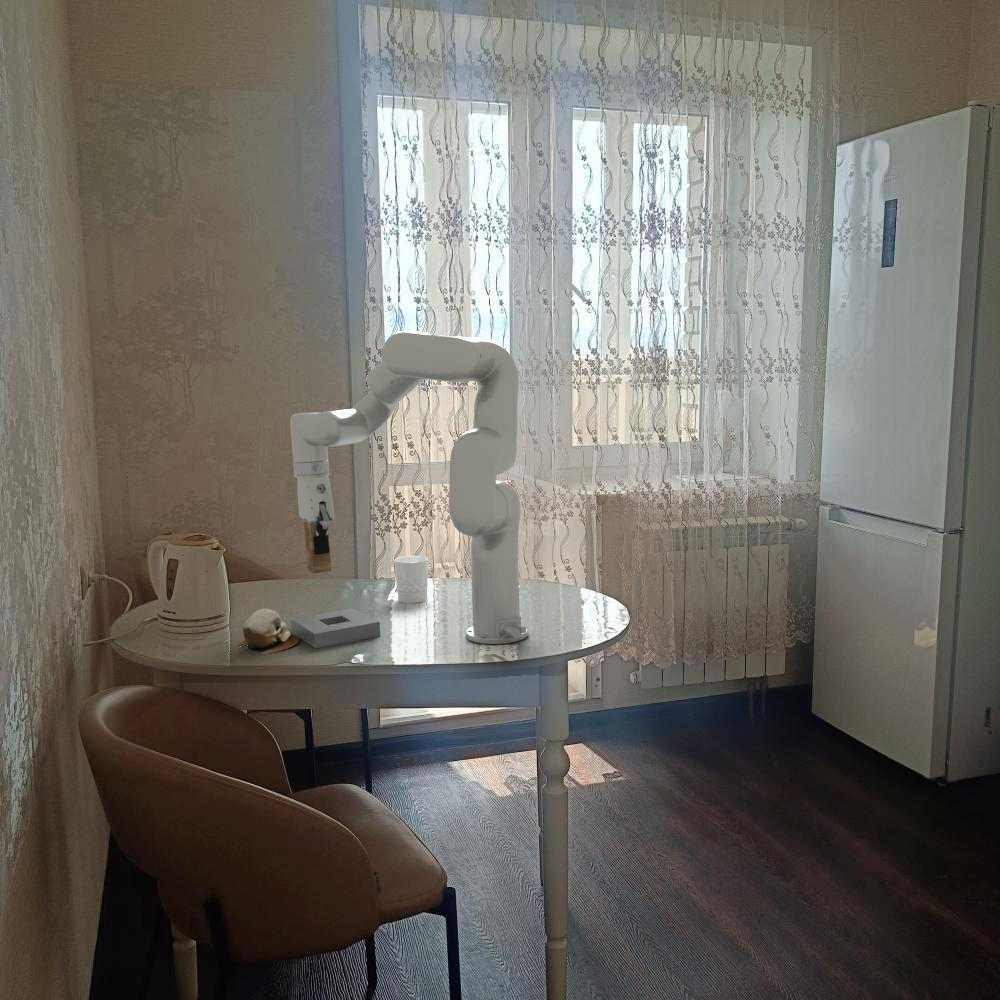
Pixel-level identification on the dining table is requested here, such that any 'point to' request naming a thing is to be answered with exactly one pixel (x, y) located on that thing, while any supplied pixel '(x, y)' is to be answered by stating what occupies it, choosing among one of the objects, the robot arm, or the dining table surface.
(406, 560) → the white cup
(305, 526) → the peg
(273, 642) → the skull
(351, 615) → the socket
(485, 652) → the dining table surface
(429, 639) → the dining table surface
